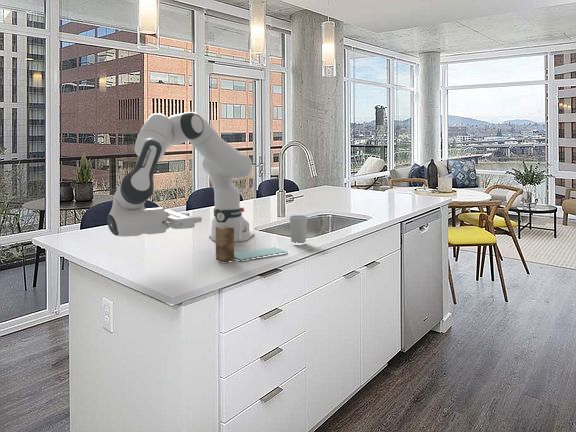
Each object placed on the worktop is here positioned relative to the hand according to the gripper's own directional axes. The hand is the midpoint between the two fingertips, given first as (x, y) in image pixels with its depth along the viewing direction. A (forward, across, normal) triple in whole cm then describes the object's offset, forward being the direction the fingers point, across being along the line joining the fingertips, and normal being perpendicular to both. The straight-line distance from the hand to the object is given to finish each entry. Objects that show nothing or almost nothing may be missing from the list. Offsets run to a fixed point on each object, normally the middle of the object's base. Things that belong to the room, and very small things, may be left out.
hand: (194, 217), depth 182 cm
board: (+28, 0, +18) cm, 33 cm away
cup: (+53, +8, +18) cm, 57 cm away
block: (+12, 0, +18) cm, 22 cm away
